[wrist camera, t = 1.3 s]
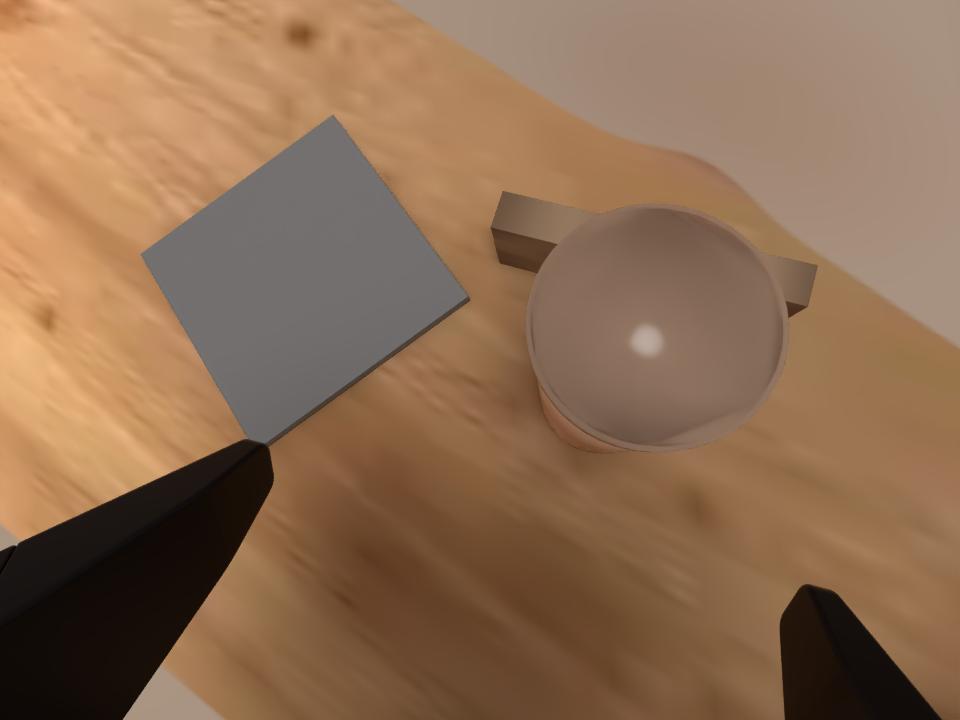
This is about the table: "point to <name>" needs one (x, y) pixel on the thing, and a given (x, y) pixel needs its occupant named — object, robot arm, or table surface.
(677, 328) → the terracotta jar
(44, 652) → the robot arm
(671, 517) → the table surface
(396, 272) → the dark grey mat
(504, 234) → the walnut rail
